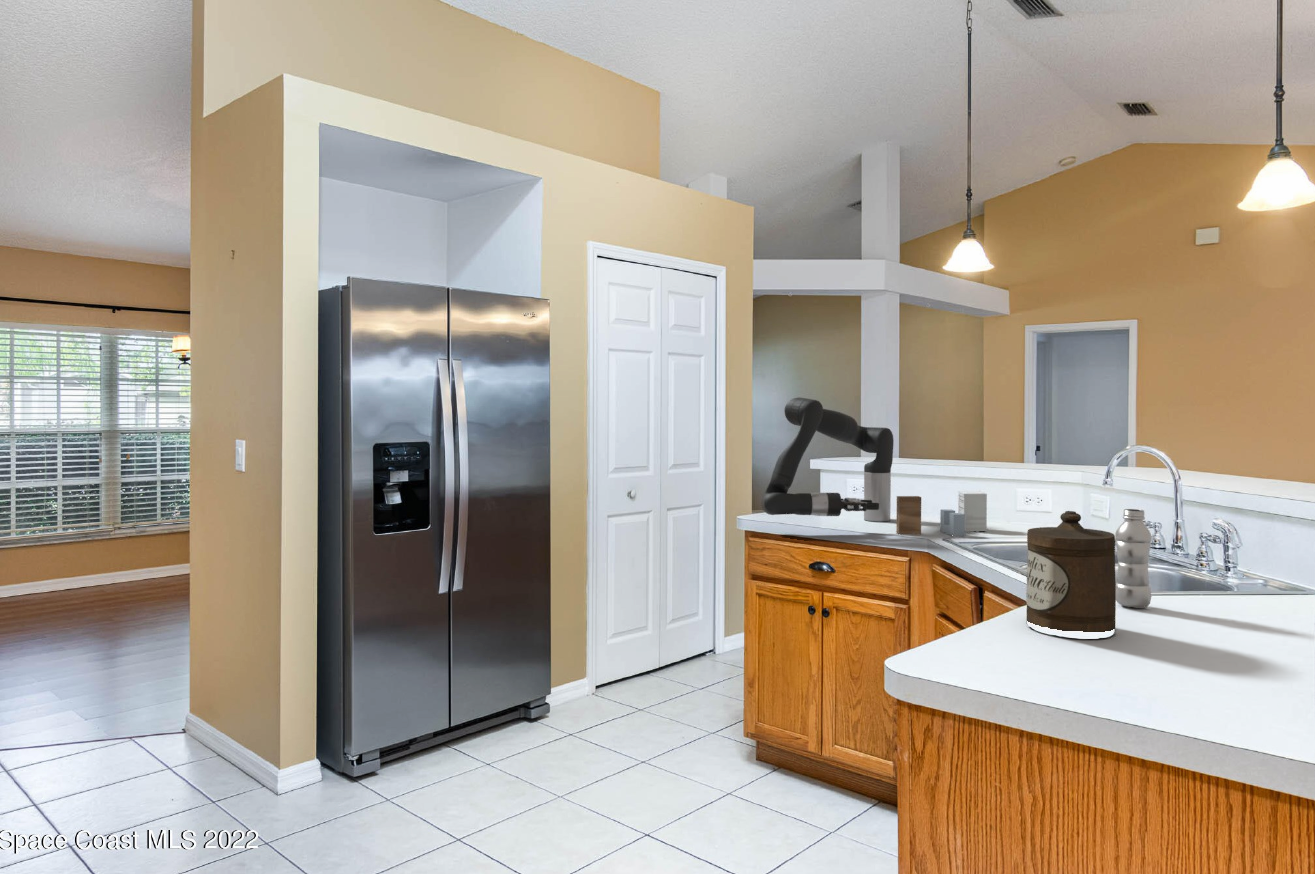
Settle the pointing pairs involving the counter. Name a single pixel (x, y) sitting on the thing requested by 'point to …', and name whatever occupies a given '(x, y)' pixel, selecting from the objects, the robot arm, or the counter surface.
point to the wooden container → (1071, 577)
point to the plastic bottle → (1133, 560)
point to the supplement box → (973, 510)
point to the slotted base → (952, 522)
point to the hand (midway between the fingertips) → (875, 504)
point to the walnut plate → (908, 515)
